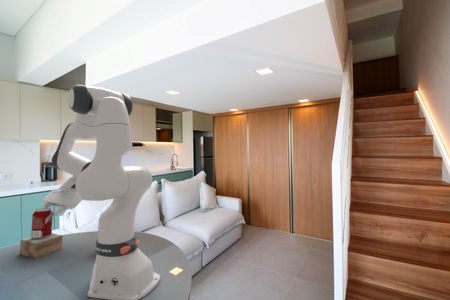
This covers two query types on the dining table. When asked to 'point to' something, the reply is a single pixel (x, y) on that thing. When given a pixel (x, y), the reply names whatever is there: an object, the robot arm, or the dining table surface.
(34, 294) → the dining table surface
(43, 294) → the dining table surface
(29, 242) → the walnut pedestal
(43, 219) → the soda can
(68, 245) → the dining table surface
